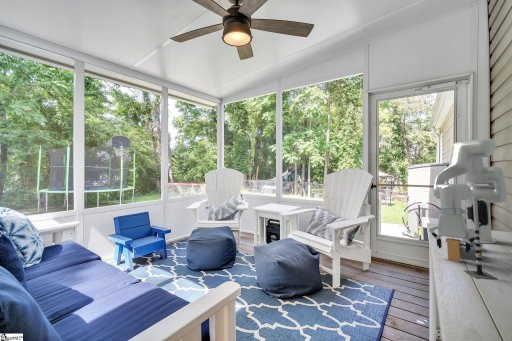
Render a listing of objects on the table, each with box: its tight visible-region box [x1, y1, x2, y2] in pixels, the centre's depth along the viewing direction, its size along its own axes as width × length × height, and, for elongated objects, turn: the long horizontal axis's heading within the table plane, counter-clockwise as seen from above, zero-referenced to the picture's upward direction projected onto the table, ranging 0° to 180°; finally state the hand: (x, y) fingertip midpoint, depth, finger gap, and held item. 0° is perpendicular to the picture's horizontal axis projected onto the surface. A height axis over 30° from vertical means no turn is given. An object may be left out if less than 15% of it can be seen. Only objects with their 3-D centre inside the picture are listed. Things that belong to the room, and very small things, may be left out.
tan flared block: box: [445, 237, 461, 263], centre depth 109 cm, size 4×5×9 cm
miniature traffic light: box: [463, 197, 498, 280], centre depth 93 cm, size 8×8×30 cm
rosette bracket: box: [459, 227, 484, 261], centre depth 119 cm, size 26×11×10 cm, turn 134°
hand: (453, 249), depth 109 cm, fingers open, 9 cm apart
